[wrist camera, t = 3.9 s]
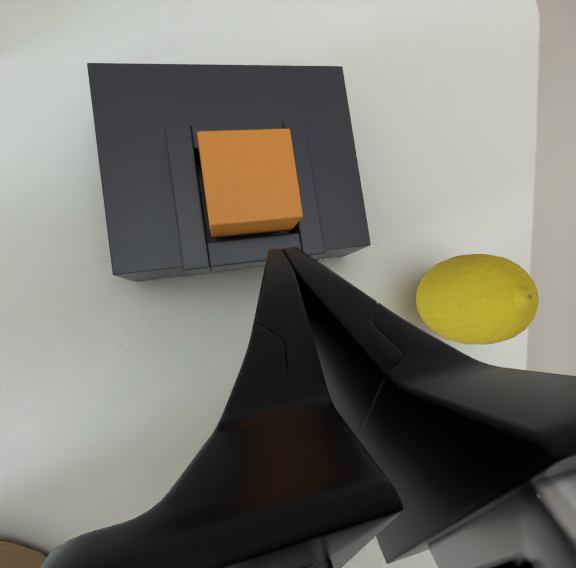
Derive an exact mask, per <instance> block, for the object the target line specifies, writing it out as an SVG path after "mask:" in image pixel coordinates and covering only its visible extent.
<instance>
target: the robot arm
mask: <svg viewBox="0 0 576 568" xmlns="http://www.w3.org/2000/svg"><path fill="white" fill-rule="evenodd" d="M375 536H376V538H377V540H378V543H379V545H380V548H381V550H382V553H383V555H384V558H385V560H386V563H387V564H389V563H392V562H395V561H397V560H400V559H403V558H406V557H409V556H411V555H414V554H417V553H420V552H423V551H426V550H428V549H430V551H431V553H432V555H433V558H434V560H435V562H436V564H437V566H438V568H576V376H569V375H560V374H552V373H544V372H535V371H527V370H519V369H511V368H503V367H497V366H493V365H489V364H486V363H483V362H480V361H478V360H475V359H473V358H471V357H469V356H467V355H465V354H463V353H462V352H460V351H458V350H456V349H455V348H453V347H451V346H449V345H447V344H446V343H444V342H442V341H440V340H439V339H437V338H435V337H433V336H431V335H430V334H428V333H426V332H424V331H423V330H421V329H419V328H418V327H416V326H414V325H412V324H411V323H409V322H407V321H406V320H404V319H402V318H401V317H399V316H398V315H396V314H395V313H393V312H392V311H390V310H389V309H387V308H386V307H384V306H383V305H381V304H380V303H377V302H376V301H375V300H374V299H372V298H371V297H369V296H368V295H366V294H365V293H363V292H362V291H361V290H359V289H358V288H356V287H355V286H353V285H352V284H350V283H349V282H347V281H346V280H344V279H343V278H341V277H340V276H339V275H337V274H336V273H334V272H333V271H331V270H330V269H328V268H327V267H325V266H324V265H322V264H321V263H319V262H318V261H317V260H315V259H314V258H312V257H311V256H309V255H308V254H306V253H305V252H303V251H302V250H300V249H299V248H297V247H286V248H283V249H281V248H277V249H270V250H269V251H268V255H267V259H266V264H265V269H264V274H263V279H262V284H261V289H260V294H259V299H258V304H257V309H256V314H255V319H254V324H253V328H252V333H251V337H250V341H249V345H248V349H247V352H246V355H245V358H244V361H243V363H242V366H241V369H240V371H239V374H238V377H237V379H236V382H235V384H234V387H233V389H232V392H231V394H230V397H229V400H228V402H227V405H226V407H225V410H224V412H223V414H222V416H221V419H220V421H219V423H218V425H217V427H216V428H215V430H214V432H213V433H212V435H211V436H210V438H209V439H208V440H207V442H206V443H205V444H204V446H203V447H202V448H201V450H200V451H199V452H198V454H197V455H196V456H195V458H194V459H193V460H192V462H191V463H190V464H189V466H188V467H187V468H186V470H185V471H184V472H183V474H182V475H181V476H180V478H179V479H178V480H177V482H176V483H175V484H174V486H173V487H172V488H171V490H170V491H169V492H168V493H167V495H166V496H165V497H164V498H163V499H162V500H161V501H160V502H159V503H158V504H156V505H155V506H154V507H153V508H151V509H150V510H149V511H147V512H145V513H144V514H142V515H140V516H139V517H137V518H134V519H132V520H129V521H127V522H124V523H121V524H117V525H113V526H110V527H106V528H102V529H99V530H95V531H92V532H89V533H86V534H83V535H80V536H78V537H76V538H73V539H71V540H69V541H67V542H65V543H64V544H62V545H60V546H59V547H57V548H56V549H55V550H54V551H53V552H52V553H50V554H49V556H48V557H47V558H46V559H45V561H44V562H43V564H42V565H41V567H40V568H341V567H343V566H344V565H345V564H346V563H347V562H348V561H349V560H350V559H351V558H352V557H353V556H354V555H356V554H357V553H358V552H359V551H360V550H361V549H362V548H363V547H364V546H365V545H366V544H367V543H369V542H370V541H371V540H372V539H373V538H374V537H375Z"/></svg>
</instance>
